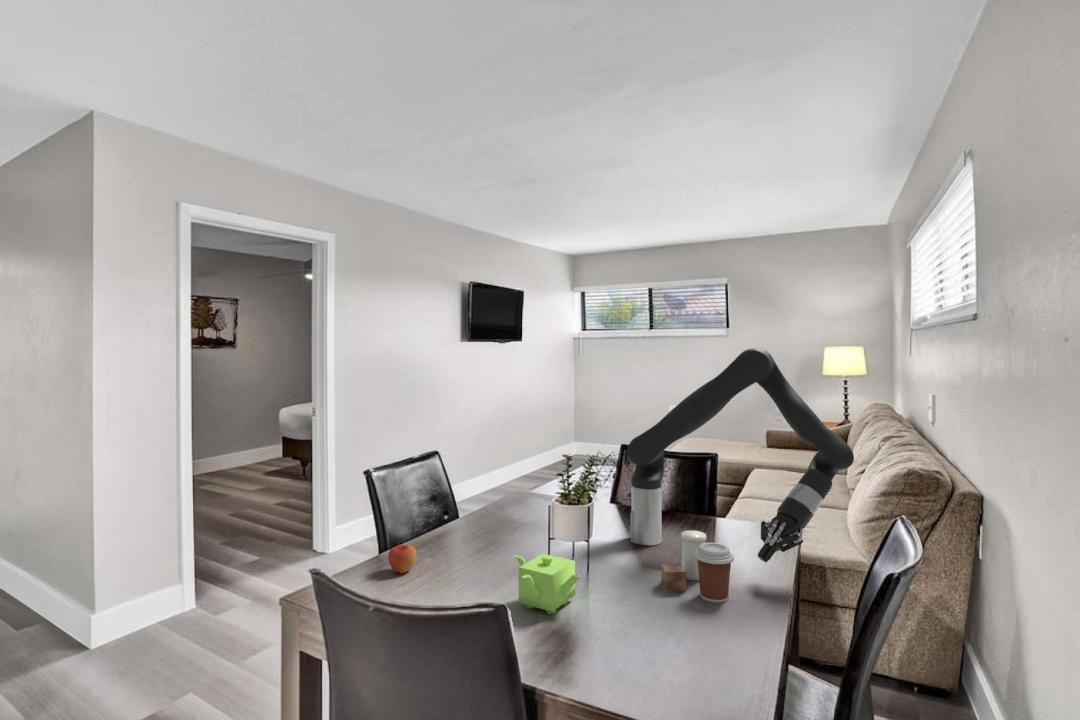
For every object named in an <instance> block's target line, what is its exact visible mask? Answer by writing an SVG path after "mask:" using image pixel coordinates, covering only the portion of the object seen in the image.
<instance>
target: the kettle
mask: <svg viewBox="0 0 1080 720" xmlns="http://www.w3.org/2000/svg"><path fill="white" fill-rule="evenodd" d="M513 557H514V558H515V559H516V560H517V562H518V563H519V567H518V604H521V605H526V608H527V609H535V608H537V609H540V610H544V611H546V614H548V615H555V614H556V613H557V609H558V608H560V607H561V606H566V605H568V604H569V601H570V600H571V599H572V598H573V597H575V595H576V583H577V581H578V580H579V578H580V577H581V575H580V574H578V573H576V561H575V560H572V559H568V558H565V557H559V556H555V555H550V554H545V553H541V554H540V555H538V556H537V557H534V558H533V559H531V560H529V561H528V562H526V560H525V558H523V556H521V555H519V554H514V555H513Z"/></svg>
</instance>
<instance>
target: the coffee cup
mask: <svg viewBox="0 0 1080 720" xmlns="http://www.w3.org/2000/svg"><path fill="white" fill-rule="evenodd" d="M694 556H695V558H696V559H697V561H698V573H699V580H698V583H699V596H700V597H701V599H702V600H704V601H706V602H710V603H715V604H718V603H719V604H721V603H725V602H727V601H728V599H729V588H730V578H731V567H732V565H731V564H732V563H733V562H734V559H735V555H734V554H733V553H732V552H731V551H730V548H729V547H728V546H727V545H725V544H723V543H718V542H706V543H703V544H701V545H700V546H699V549H698V550H696V551H695V553H694Z"/></svg>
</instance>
